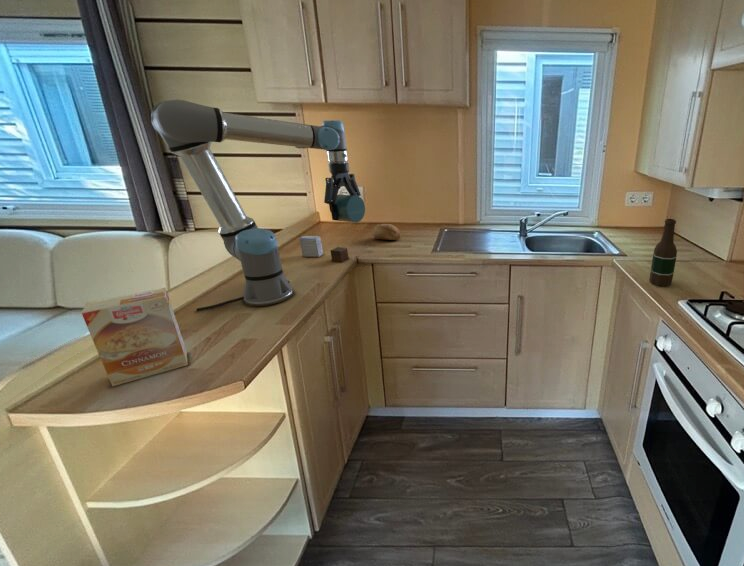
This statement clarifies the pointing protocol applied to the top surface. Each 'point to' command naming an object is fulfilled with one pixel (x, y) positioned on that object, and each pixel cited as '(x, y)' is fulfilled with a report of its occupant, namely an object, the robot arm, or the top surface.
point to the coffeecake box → (135, 335)
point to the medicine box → (311, 246)
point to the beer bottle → (664, 257)
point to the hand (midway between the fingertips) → (345, 217)
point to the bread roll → (386, 232)
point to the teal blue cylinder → (350, 208)
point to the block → (339, 254)
